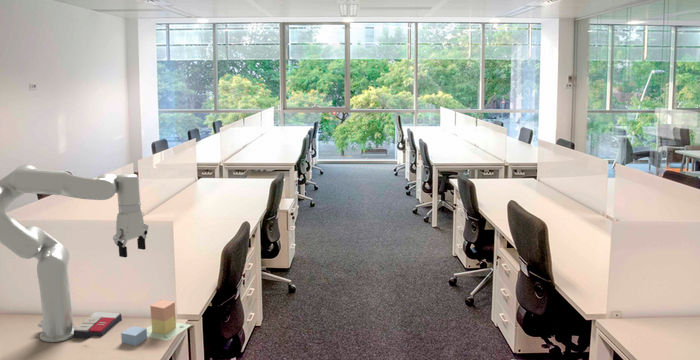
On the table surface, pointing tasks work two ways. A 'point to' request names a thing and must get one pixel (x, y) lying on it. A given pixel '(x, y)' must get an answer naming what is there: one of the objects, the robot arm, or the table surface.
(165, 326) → the ochre brick
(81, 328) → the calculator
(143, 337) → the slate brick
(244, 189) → the table surface
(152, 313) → the terracotta brick
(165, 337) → the build plate
